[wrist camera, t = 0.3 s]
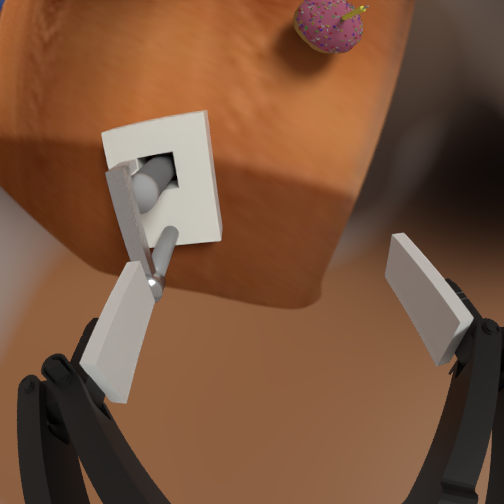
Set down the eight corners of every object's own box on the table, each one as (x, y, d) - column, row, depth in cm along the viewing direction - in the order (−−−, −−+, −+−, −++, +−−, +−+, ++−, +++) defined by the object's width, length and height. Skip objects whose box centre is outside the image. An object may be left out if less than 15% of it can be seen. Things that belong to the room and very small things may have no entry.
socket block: (112, 128, 35) (57, 152, 22) (207, 109, 34) (188, 120, 22) (138, 236, 44) (105, 295, 32) (222, 227, 44) (216, 289, 31)
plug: (148, 153, 37) (115, 180, 27) (176, 148, 37) (151, 173, 27) (154, 180, 39) (124, 216, 29) (181, 176, 39) (159, 211, 29)
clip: (113, 163, 25) (96, 175, 22) (141, 157, 25) (127, 169, 22) (147, 281, 33) (138, 303, 29) (171, 280, 33) (165, 302, 29)
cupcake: (331, -2, 26) (364, -29, 15) (359, 47, 30) (402, 37, 20) (277, 15, 27) (292, -13, 17) (307, 66, 32) (334, 56, 21)
